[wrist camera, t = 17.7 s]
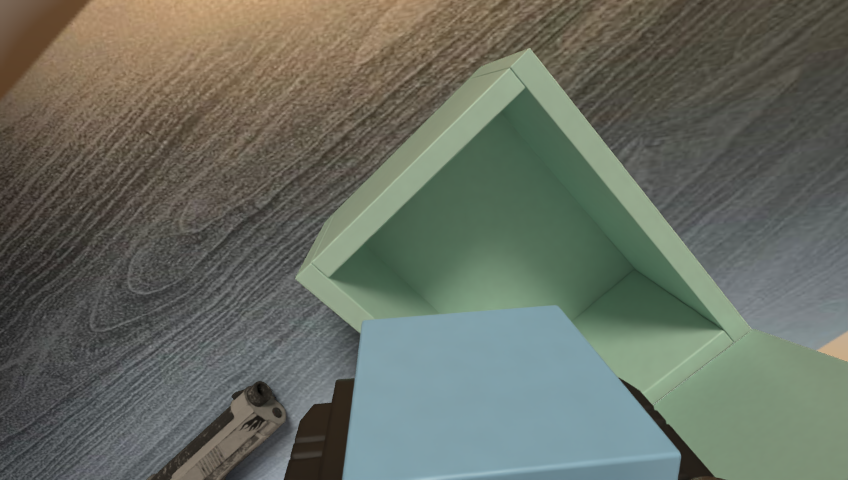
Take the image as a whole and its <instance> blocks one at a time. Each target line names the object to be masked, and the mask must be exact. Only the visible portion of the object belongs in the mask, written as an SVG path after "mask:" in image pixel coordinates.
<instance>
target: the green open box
mask: <svg viewBox="0 0 848 480" xmlns="http://www.w3.org/2000/svg"><path fill="white" fill-rule="evenodd" d="M295 279H296V280H297V281H298V282H299V283H300V284H302V285H303V286H304V287H305V288H306V289H308V290H309V291H310V292H311V293H312V294H314V295H315V296H316V297H317V298H318V299H319V300H321V301H322V302H323V303H324V304H325V305H327V306H328V307H329V308H330V309H331V310H333V311H334V312H335V313H336V314H337V315H338V316H340V317H341V318H342V319H343V320H344V321H346V322H347V323H348V324H349V325H350V326H352V327H353V328H354V329H355V330H356V331H357V332H359V333H361V325H362V321H364V320H373V319H386V318H399V317H411V316H424V315H437V314H449V313H462V312H475V311H487V310H500V309H513V308H525V307H538V306H551V305H557V306H559V307H560V308H561V310H562V311H563V312H564V313H565V314H566V316H567V317H568V318H569V319H570V320H571V322H572V323H573V324H574V325H575V326H576V328H577V329H578V330H579V331H580V332H581V334H582V335H583V336H584V337H585V339H586V340H587V341H588V342H589V343H590V345H591V346H592V347H593V348H594V349H595V351H596V352H597V353H598V354H599V355H600V357H601V358H602V359H603V360H604V361H605V363H606V364H607V365H608V366H609V367H610V369H611V370H612V371H613V372H614V373H615V375H616V376H617V377H618V378H621V379H623V380H624V381H626V382H627V383H629V384H630V385H632V386H634V387H635V388H637V389H638V390H640V391H641V392H642V394H643V395H644V396H645V397H646V398H647V399H648V400H649V402H650V403H651V404H652V405H653V404H655V403H656V402H657V401H659V400H660V399H661V398H663V397H664V396H665V395H667V394H668V393H669V392H670V391H672V390H673V389H674V388H676V387H677V386H678V385H680V384H681V383H682V382H684V381H685V380H686V379H687V378H689V377H690V376H691V375H693V374H694V373H695V372H697V371H698V370H699V369H701V368H702V367H703V366H704V365H706V364H707V363H708V362H710V361H711V360H712V359H714V358H715V357H716V356H718V355H719V354H720V353H721V352H723V351H724V350H725V349H727V348H728V347H729V346H731V345H732V344H733V342H736V341H738V340H739V339H740V338H742V337H743V336H744V335H746V334H747V333H748V332H750V331H751V330H752V329H751V328H750V327H749V325H748V324H747V323H746V322H745V320H744V319H743V318H742V316H741V315H740V314H739V313H738V311H737V310H736V309H735V308H734V306H733V305H732V304H731V302H730V301H729V300H728V299H727V297H726V296H725V295H724V294H723V292H722V291H721V290H720V289H719V287H718V286H717V285H716V283H715V282H714V281H713V280H712V278H711V277H710V276H709V275H708V273H707V272H706V271H705V270H704V268H703V267H702V266H701V264H700V263H699V262H698V261H697V259H696V258H695V257H694V256H693V254H692V253H691V252H690V250H689V249H688V248H687V247H686V245H685V244H684V243H683V242H682V240H681V239H680V238H679V237H678V235H677V234H676V233H675V231H674V230H673V229H672V228H671V226H670V225H669V224H668V223H667V221H666V220H665V219H664V217H663V216H662V215H661V214H660V212H659V211H658V210H657V209H656V207H655V206H654V205H653V204H652V202H651V201H650V200H649V198H648V197H647V196H646V195H645V193H644V192H643V191H642V190H641V188H640V187H639V186H638V184H637V183H636V182H635V181H634V179H633V178H632V177H631V176H630V174H629V173H628V172H627V171H626V169H625V168H624V167H623V165H622V164H621V163H620V162H619V160H618V159H617V158H616V157H615V155H614V154H613V153H612V152H611V150H610V149H609V148H608V146H607V145H606V144H605V143H604V141H603V140H602V139H601V138H600V136H599V135H598V134H597V132H596V131H595V130H594V129H593V127H592V126H591V125H590V124H589V122H588V121H587V120H586V119H585V117H584V116H583V115H582V113H581V112H580V111H579V110H578V108H577V107H576V106H575V105H574V103H573V102H572V101H571V99H570V98H569V97H568V96H567V94H566V93H565V92H564V91H563V89H562V88H561V87H560V86H559V84H558V83H557V82H556V80H555V79H554V78H553V77H552V75H551V74H550V73H549V72H548V70H547V69H546V68H545V67H544V65H543V64H542V63H541V61H540V60H539V59H538V58H537V56H536V55H535V54H534V53H533V51H532V50H531V49H530V48H529V49H526V50H523V51H521V52H518V53H515V54H513V55H510V56H507V57H505V58H502V59H499V60H497V61H494V62H492V63H489V64H486V65H484V66H482V67H480V68H479V69H478V70H477V71H476V72H475V73H474V74H473V75H472V76H471V77H470V78H469V79H468V80H467V81H466V82H465V83H464V84H463V85H462V86H461V87H460V88H459V89H458V90H457V91H456V92H455V93H454V94H453V95H452V96H451V97H450V98H449V99H448V100H447V101H446V102H445V103H444V104H443V105H442V106H441V107H440V108H439V109H438V110H437V111H436V112H435V113H434V114H433V115H432V116H431V117H430V118H429V119H428V120H427V121H426V122H425V123H424V124H423V125H422V126H421V127H420V128H419V129H418V130H417V131H416V132H415V133H414V134H413V135H412V136H411V137H410V138H409V139H408V140H407V141H406V142H405V143H404V144H403V145H402V146H401V147H400V148H399V149H398V150H397V151H396V152H395V153H394V154H393V155H392V156H391V157H390V158H389V159H388V160H387V161H386V162H385V163H384V164H383V165H382V166H381V167H380V168H379V169H378V170H377V171H376V172H375V173H374V174H373V175H372V176H371V177H370V178H369V179H368V180H367V181H366V182H365V183H364V184H363V185H362V186H361V187H360V188H359V189H358V190H357V191H356V192H355V193H354V194H353V195H352V196H351V197H350V198H349V199H347V200H346V201H345V202H344V203H343V204H342V205H341V206H340V207H339V208H338V209H337V210H336V211H335V212H334V213H333V214H332V215H331V216H330V217H329V218H328V219H327V220H326V221H325V223H324V225H323V227H322V229H321V231H320V232H319V234H318V236H317V238H316V240H315V242H314V244H313V246H312V247H311V249H310V251H309V253H308V255H307V257H306V259H305V261H304V262H303V264H302V266H301V268H300V270H299V272H298V274H297V276H296V278H295Z"/></svg>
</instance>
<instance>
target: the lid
mask: <svg viewBox="0 0 848 480" xmlns="http://www.w3.org/2000/svg"><path fill="white" fill-rule="evenodd" d="M653 406H654V409H655V410H657V411H658V412H659V413H660V414H661V415H662V417H663V418H664V419H665V420H666V423H667V424H669V425H670V426H671V427H672V428H673V429H674V430H675V431H676V433H677V434H678V435H679V436H680V437H681V438H682V440H683V441H684V442H685V443H686V444H687V445H688V446H689V448H690V449H691V450H692V451H693V452H694V453H695V454H696V456H697V457H698V458H699V459H700V460H701V461H702V463H703V464H704V465H705V466H706V467H707V468H708V469H709V471H710V472H711V473H712V474H713V475H714V476H715V477H716V478H721V479H725V480H848V362H847V361H844V360H841V359H838V358H835V357H832V356H830V355H827V354H824V353H821V352H818V351H815V350H813V349H810V348H807V347H804V346H801V345H798V344H796V343H793V342H790V341H787V340H784V339H781V338H778V337H776V336H773V335H770V334H767V333H764V332H761V331H758V330H756V329H753V330H751V331H750V332H749V333H747V334H746V335H745V336H744V337H742V338H741V339H740V340H738V341H737V342H736V343H734V344H733V345H732V346H730V347H729V348H728V349H727V350H725V351H724V352H723V353H721V354H720V355H719V356H717V357H716V358H715V359H713V360H712V361H711V362H710V363H708V364H707V365H706V366H704V367H703V368H702V369H700V370H699V371H698V372H696V373H695V374H694V375H693V376H691V377H690V378H689V379H687V380H686V381H685V382H683V383H682V384H681V385H679V386H678V387H677V388H676V389H674V390H673V391H672V392H670V393H669V394H668V395H666V396H665V397H664V398H662V399H661V400H660V401H659V402H657V403H656V404H655V405H653Z"/></svg>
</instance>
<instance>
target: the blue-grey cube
mask: <svg viewBox="0 0 848 480" xmlns="http://www.w3.org/2000/svg"><path fill="white" fill-rule="evenodd" d="M680 462H681V454H680V452H679V450H678V449H677V448H676V447H675V445H674V444H673V443H672V442H671V441H670V439H669V438H668V437H667V436H666V435H665V433H664V432H663V431H662V430H661V429H660V427H659V426H658V425H657V424H656V423H655V421H654V420H653V419H652V418H651V417H650V415H649V414H648V413H647V412H646V411H645V409H644V408H643V407H642V406H641V405H640V403H639V402H638V401H637V400H636V399H635V397H634V396H633V395H632V394H631V393H630V391H629V390H628V389H627V388H626V387H625V385H624V384H623V383H622V382H621V381H620V379H619V378H618V377H617V376H616V375H615V373H614V372H613V371H612V370H611V369H610V367H609V366H608V365H607V364H606V363H605V361H604V360H603V359H602V358H601V357H600V355H599V354H598V353H597V352H596V351H595V349H594V348H593V347H592V346H591V345H590V343H589V342H588V341H587V340H586V339H585V337H584V336H583V335H582V334H581V332H580V331H579V330H578V329H577V328H576V326H575V325H574V324H573V323H572V322H571V320H570V319H569V318H568V317H567V316H566V314H565V313H564V312H563V311H562V310H561V308H560V307H559V306H557V305H551V306H538V307H525V308H513V309H500V310H487V311H475V312H462V313H449V314H437V315H424V316H411V317H399V318H386V319H373V320H364V321H362V325H361V333H360V341H359V349H358V357H357V365H356V373H355V381H354V389H353V396H352V404H351V412H350V420H349V428H348V436H347V444H346V452H345V460H344V468H343V476H342V480H678V474H679V468H680Z"/></svg>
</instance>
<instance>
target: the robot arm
mask: <svg viewBox="0 0 848 480" xmlns="http://www.w3.org/2000/svg"><path fill="white" fill-rule="evenodd" d="M619 379H620V381H621V382H622V383H623V384H624V385H625V387H626V388H627V389H628V390H629V391H630V393H631V394H632V395H633V396H634V397H635V399H636V400H637V401H638V402H639V403H640V405H641V406H642V407H643V408H644V409H645V411H646V412H647V413H648V414H649V415H650V417H651V418H652V419H653V420H654V421H655V423H656V424H657V425H658V426H659V427H660V429H661V430H662V431H663V432H664V433H665V435H666V436H667V437H668V438H669V439H670V441H671V442H672V443H673V444H674V445H675V447H676V448H677V449H678V450H679V452H680V454H681V462H680V468H679V474H678V480H725V479H721V478H716V477H715V476H714V475H713V474H712V473H711V472H710V471H709V469H708V468H707V467H706V466H705V465H704V464H703V463H702V461H701V460H700V459H699V458H698V457H697V456H696V454H695V453H694V452H693V451H692V450H691V449H690V448H689V446H688V445H687V444H686V443H685V442H684V441H683V440H682V438H681V437H680V436H679V435H678V434H677V433H676V431H675V430H674V429H673V428H672V427H671V426H670V425H669V424H667V423H666V420H665V419H664V418H663V417H662V415H661V414H660V413H659V412H658V411H657V410H655V409H654V406H653V405H652V404H651V403H650V402H649V400H648V399H647V398H646V397H645V396H644V395H643V394H642V392H641V391H640V390H638V389H637V388H635V387H634V386H632V385H630V384H629V383H627V382H626V381H624V380H623V379H621V378H619ZM354 381H355V378H351V379H340V380H336V383H335V388H334V394H333V399H332V403H323V404H314V405H313V406H312V407H311V408H310V410H309V411H308V412H307V413H306V415H305V416H304V417H303V418H302V419H301V421H300V424H299V427H298V431H297V434H296V438H295V444H294V445H293V448H292V452H291V458H290V460H289V463H288V466H287V470H286V473H285V477H284V480H342V476H343V468H344V460H345V452H346V444H347V436H348V428H349V420H350V412H351V404H352V396H353V389H354Z"/></svg>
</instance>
